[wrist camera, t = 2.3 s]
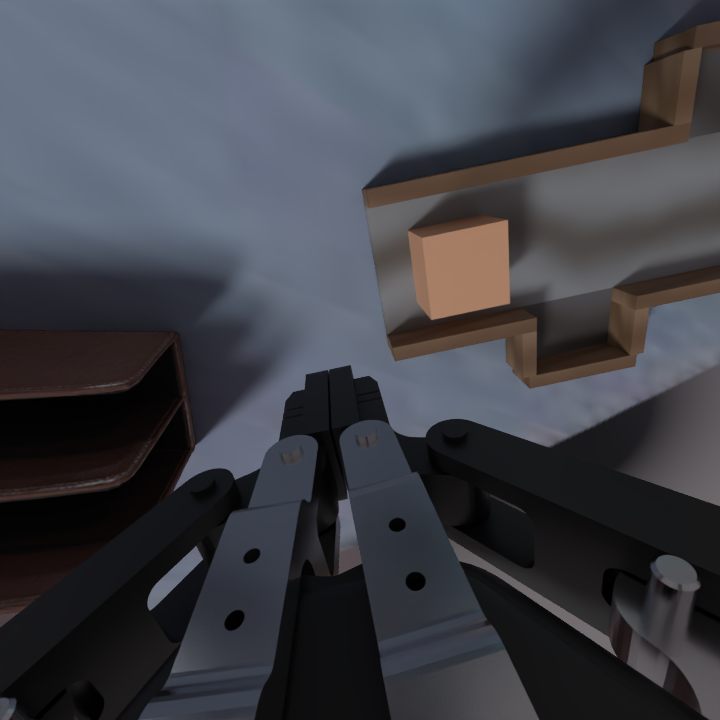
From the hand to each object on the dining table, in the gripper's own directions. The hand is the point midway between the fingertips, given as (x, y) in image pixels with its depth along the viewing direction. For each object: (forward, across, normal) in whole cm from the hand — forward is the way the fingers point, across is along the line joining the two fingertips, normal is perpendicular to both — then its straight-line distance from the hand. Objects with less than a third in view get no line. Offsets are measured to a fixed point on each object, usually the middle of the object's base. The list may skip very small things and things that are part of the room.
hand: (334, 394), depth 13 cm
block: (+15, -8, 0) cm, 17 cm away
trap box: (+15, -20, 0) cm, 25 cm away
